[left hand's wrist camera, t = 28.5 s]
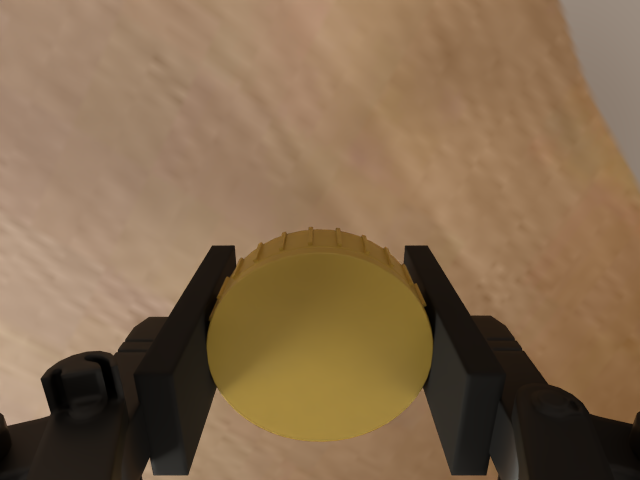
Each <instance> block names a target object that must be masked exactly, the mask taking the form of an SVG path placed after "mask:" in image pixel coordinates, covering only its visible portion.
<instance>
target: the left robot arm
mask: <svg viewBox="0 0 640 480" xmlns="http://www.w3.org/2000/svg"><path fill="white" fill-rule="evenodd" d="M404 264H405V265H406V267H407V270H408V272H409V274H410V276H411V279H412V281H413V283H414V284H416V283H417V285H418V288H419V290H420V292H421V294H422V296H423V298H424V301H425V303H426V305H427V306H425V307H424V309H425V311H426V313H427V315H428V318H429V322H430V325H431V328H432V334H433V340H434V342H433V355H432V363H431V368H430V371H429V374H428V378H427V380H426V382H425V384H424V386H423V389H424V392H425V395H426V398H427V401H428V404H429V407H430V410H431V413H432V416H433V420H434V423H435V426H436V429H437V432H438V435H439V438H440V441H441V444H442V447H443V450H444V453H445V456H446V460H447V463H448V466H449V469H450V472H451V475H486V474H487V469H488V464H489V459H490V456H491V458H492V461H493V463H494V465H495V467H496V470H497V472H498V474H499V475H498V480H640V412H638V413H637V415H636V418H635V420H634V423H633V424H629V423H625V422H620V421H616V420H611V419H607V418H603V417H598V416H595V415H592V414H589V412H588V410H587V409H586V407H585V406H584V404H583V403H582V402H581V401H580V400H578V399H577V398H576V397H575V396H574V395H572V394H570V393H568V392H567V391H565V390H563V389H561V388H558V387H555V386H552V385H548V383H547V382H546V381H545V379H544V378H543V376H542V375H541V374H540V372H539V371H538V370H537V368H536V367H535V365H534V364H533V363H532V361H531V360H530V359H529V357H528V356H527V354H526V353H525V352H524V351H522V348H521V346H520V345H519V343H518V342H517V341H515V338H514V337H513V335H512V334H511V333H510V331H509V330H508V328H507V327H506V326H505V325H504V324H502V323H501V322H499V321H498V320H496V319H495V318H493V317H492V316H470V314H469V312H468V311H467V309H466V307H465V306H464V304H463V303H462V301H461V299H460V298H459V296H458V294H457V293H456V291H455V290H454V288H453V286H452V285H451V283H450V281H449V280H448V278H447V277H446V275H445V273H444V272H443V270H442V268H441V267H440V265H439V264H438V262H437V260H436V259H435V257H434V255H433V254H432V252H431V251H430V249H429V247H428V246H405V253H404ZM235 269H236V256H235V246H212V247H211V249H210V250H209V252H208V253H207V255H206V257H205V258H204V260H203V262H202V263H201V265H200V266H199V268H198V270H197V271H196V273H195V275H194V276H193V278H192V279H191V281H190V283H189V284H188V286H187V288H186V289H185V291H184V292H183V294H182V296H181V297H180V299H179V301H178V302H177V304H176V305H175V307H174V309H173V310H172V312H171V314H170V315H169V317H148V318H147V319H146V320H144V321H143V322H141V323H140V324H138V325H137V326H136V327H134V328H133V330H132V331H131V332H130V334H129V335H128V337H127V338H126V339H125V342H123V344H122V345H121V346H120V348H119V349H118V352H116V353H115V355H114V356H113V355H112V354H111V353H107V352H102V351H91V352H84V353H80V354H76V355H72V356H70V357H68V358H66V359H63V360H61V361H59V362H58V363H56V364H55V365H53V366H52V367H51V368H49V369H48V370H47V371H46V372H45V374H44V375H43V376H42V378H41V382H42V385H43V388H44V392H45V395H46V398H47V402H48V405H49V408H50V412H51V415H50V416H47V417H44V418H41V419H36V420H32V421H27V422H23V423H19V424H14V425H10V426H7V424H6V421H5V419H4V416H3V415H2V414H1V413H0V480H142V473H143V471H144V469H145V467H146V464H147V462H148V460H149V458H150V461H151V465H152V470H153V475H188V474H189V471H190V468H191V465H192V462H193V459H194V456H195V453H196V449H197V446H198V443H199V440H200V437H201V434H202V431H203V428H204V425H205V422H206V419H207V416H208V413H209V410H210V406H211V403H212V400H213V397H214V394H215V391H216V388H217V386H216V384H215V383H214V380H213V378H212V375H211V373H210V369H209V365H208V357H207V348H206V340H207V332H208V328H209V324H210V321H209V317H210V315H211V312H212V310H213V308H214V306H215V304H216V301H217V296H218V294H219V292H220V290H221V287H222V285H223V283H224V281H225V279H226V277H229V278H230V276H231V275H232V273H233V271H234V270H235Z"/></svg>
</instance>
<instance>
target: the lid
mask: <svg viewBox="0 0 640 480" xmlns="http://www.w3.org/2000/svg"><path fill="white" fill-rule="evenodd" d="M425 306H427V305H426V303H425V301H424V298H423V296H422V294H421V292H420V290H419V288H418V285H417V283H416V284H414V283H413V281H412V279H411V276H410V274H409V272H408V270H407V267H406V265H405V264H402V265H401V264H400V263H399V262H398V261H397V260H396V259H395V258H394V257H393V256H392V255H391V254H390V252H389V250H388V248H386V247H385V248H384V249H383V248H381V247H380V246H378V245H376V244H375V243H373V242H371V241H369V240H367V238H366V236H365V235H362V236H361V237H360V236H357V235H353V234H350V233H346V232H341V231H340V228H336V231H335V230H318V229H316V230H313V227H309V230H305V231H299V232H294V233H290V234H287V233H286V232H283V233H282V236H281V237H278V238H275V239H273V240H271V241H269V242H267V243H265V244H263V243H262V242H261V243H259V244H258V247H257V249H256V250H254V251H253V252H251V253H250V254H249V255H248V256H247V257H246V258H245V259H243V258H240V259H239V261H238V264H237V266H236V269H235V270H234V271H233V273H232V275H231V276H230V278H229V277H226V279H225V281H224V283H223V285H222V287H221V290H220V292H219V294H218V296H217V301H216V304H215V306H214V308H213V310H212V312H211V315H210V317H209V321H210V324H209V328H208V332H207V340H206V348H207V357H208V365H209V369H210V373H211V375H212V378H213V380H214V383H215V384H216V386H217V388H218V390H219V391H220V393H221V394H222V396H223V397H224V398H225V400H226V401H227V402H228V403H229V404H230V405H231V406H232V407H233V408H234V409H235V410H236V411H237V412H238V413H239V414H240V415H242V416H243V417H244V418H245V419H247V420H248V421H250V422H252V423H253V424H255V425H256V426H258V427H260V428H262V429H264V430H267V431H269V432H271V433H274V434H277V435H280V436H283V437H287V438H291V439H296V440H303V441H317V442H325V441H338V440H343V439H349V438H353V437H356V436H360V435H363V434H366V433H368V432H371V431H373V430H376V429H378V428H379V427H381V426H383V425H385V424H387V423H388V422H390V421H391V420H393V419H394V418H396V417H397V416H398V415H399V414H401V413H402V412H403V411H404V410H405V409H406V408H407V407H408V406H409V405H410V404H411V403H412V402H413V401H414V399H415V398H416V397H417V395H418V394H419V392H420V391H421V389H422V388H423V386H424V384H425V382H426V380H427V378H428V374H429V371H430V368H431V363H432V355H433V342H434V340H433V334H432V328H431V325H430V322H429V318H428V315H427V313H426V311H425V309H424V307H425Z"/></svg>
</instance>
